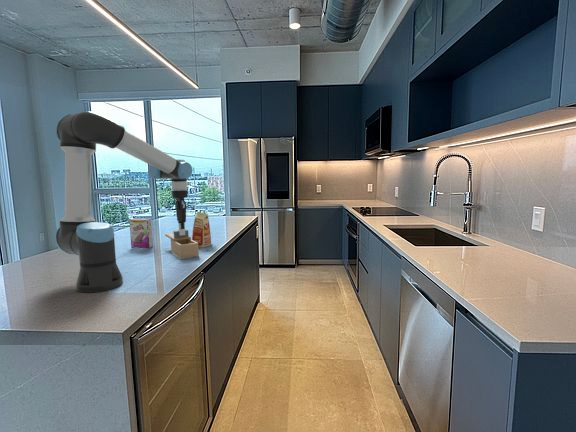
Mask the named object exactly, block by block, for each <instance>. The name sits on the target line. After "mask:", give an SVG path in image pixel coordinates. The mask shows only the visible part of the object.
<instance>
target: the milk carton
mask: <svg viewBox="0 0 576 432" xmlns="http://www.w3.org/2000/svg"><path fill="white" fill-rule="evenodd" d="M192 226H193V227H192V236H191V239H192V240H193V241H195V242H197V243H198V248H205V247H209V246H211V245H212V234H211V227H210V220H209V214H208V213H204V212H201V211H196V214H195V216H194V220H193V225H192Z"/></svg>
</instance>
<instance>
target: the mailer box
mask: <svg viewBox="0 0 576 432" xmlns="http://www.w3.org/2000/svg"><path fill="white" fill-rule="evenodd" d="M170 251H171V253H172V254H173V255H174V256H175V257H177V258H179V259H180V260H185V259H193V258H197V257H198V258H199V256H200V255H199V254H200V253H199V247H198V243H197V242H195V241H193V240H192V238H191V239H184V240H176V241H173V240H172V239H170Z"/></svg>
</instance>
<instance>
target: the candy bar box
mask: <svg viewBox="0 0 576 432" xmlns="http://www.w3.org/2000/svg"><path fill="white" fill-rule="evenodd" d="M129 233H130V234H129V235H130V246H131V249H132V248H133V249H134V248H135V249H136V248H137V249H138V248H139V249H150V248H152V247H154V235H153V234H154V233H153V220H152V218H131V219H129Z"/></svg>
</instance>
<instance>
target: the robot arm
mask: <svg viewBox="0 0 576 432" xmlns="http://www.w3.org/2000/svg"><path fill="white" fill-rule="evenodd" d="M54 132H55V136H56V138H57V139H58V140H59V144H60V147H59V148H60V149H61V151H63V152H64V216H63V217H62V218H60V219H59V227H58V228H57V229H56V231H55V234H54V242H55V245H56V247H58V249H59V250H61V251H63V252H65V253H66V254H70V255H74V256H78V259H79V268H80V269H79V272H78V275H77V279H76V282H75V288H76V291H77V292H80V293H99V292H104V291H108V290H113V289H115V288H117V287H119V286H122V284H123V283H124V281H123V280H124V279H123V275H122V273H121V270H120V268H119V266H118V264H117V259H116V257H117V255H116V245H115V244H116V243H115V242H116V241H115V232H114V227H113V225H112V224H110V223H107V222H99V221H96V219H95V218H93V217H92V211H91V210H92V155H93V154H95V153H96V151H97V145H101V146H102V145H103V146H105V147H107V148H110V149H118V150H119V151H122V153H123V152H124V153H126V154H128V155H129V156H132V157H133V158H135V159H138V160H140V161H142V162H144V163H146V164H147V165H148V168H147V170H148V173H147V174H148V175H149V177H150V178H151V179H153V180H154V179H155V180H166V179H170V180H171V190H172V191H171V193H172V197H171V198H173V199H176V201H175V203H174V205H175V213H176V221H177V223H178V230H179V235H180V236H181V235H185V230H186V222H187V207H188V206H187V203H186V201H185V198H188V190H187V189H188V185H189V183H188V180H187V179H189V178H190V177H191V176H192V175H193V171H194V170H193V166H192V165H191V164H190V163H189V162H188V161H186V160H185V159H180V158H179V159H176V158H174V157H172V156H171V155H169V154H167V153H166V152H164V151H162V150H161V149H158V148H157V147H154V146H153V145H151V144H150V143H148V142H146V141H144V140H143V139H141V138H139V137H137V136H135V135H134V134H131V132H129V131H126V128H125V126H123V125H122V124H119V123H118V122H116V121H114V120H112V119H110V117H107V116H105V115H103V114H100V113H97V112H95V111H88V110H85V111H81V112H76V113H71V114H66V115H64V116H62V117H60V118H59V119H58V120H57V122H56V124H55V127H54Z"/></svg>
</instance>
